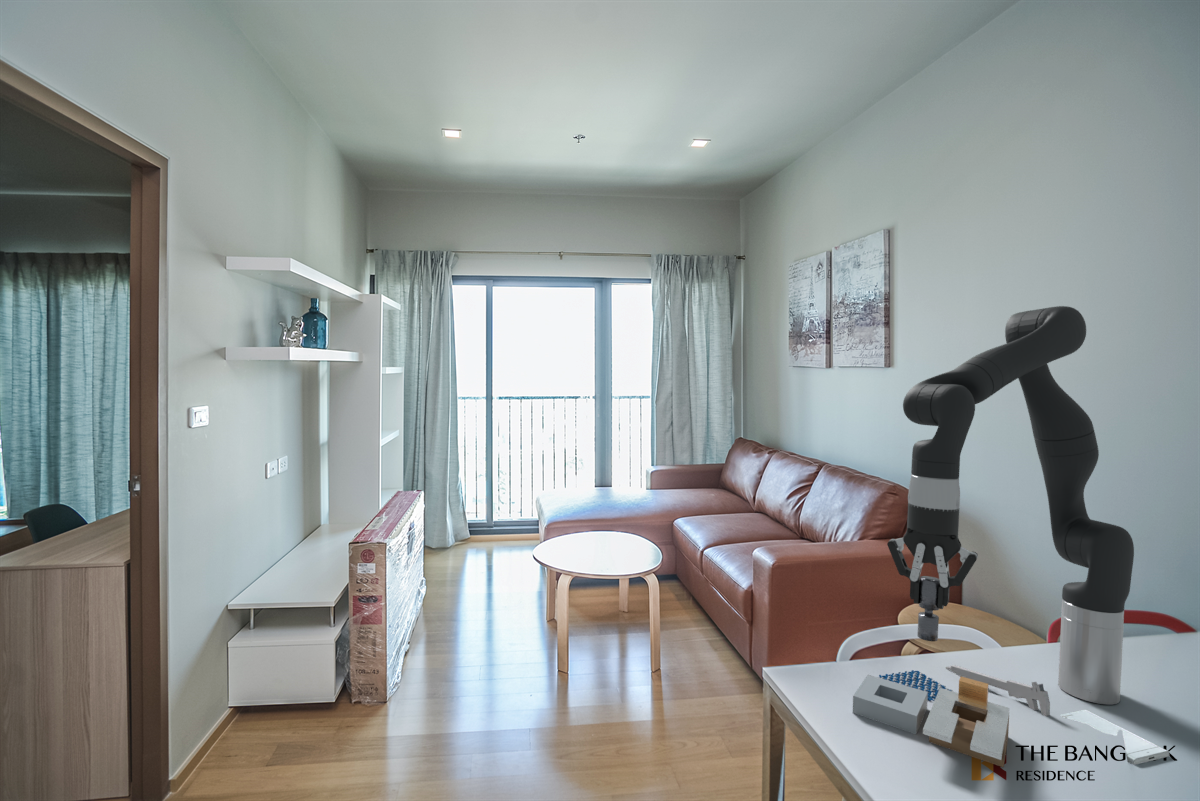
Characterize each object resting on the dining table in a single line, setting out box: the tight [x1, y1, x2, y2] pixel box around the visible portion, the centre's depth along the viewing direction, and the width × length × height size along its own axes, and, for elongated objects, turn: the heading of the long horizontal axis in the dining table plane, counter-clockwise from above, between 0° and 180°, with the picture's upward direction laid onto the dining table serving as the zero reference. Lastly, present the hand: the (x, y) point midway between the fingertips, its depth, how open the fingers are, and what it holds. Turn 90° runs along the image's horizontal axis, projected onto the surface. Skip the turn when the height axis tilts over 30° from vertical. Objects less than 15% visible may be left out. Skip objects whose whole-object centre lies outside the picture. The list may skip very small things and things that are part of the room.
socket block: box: [928, 705, 1010, 768], centre depth 97 cm, size 10×10×5 cm
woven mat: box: [878, 669, 954, 703], centre depth 114 cm, size 10×11×2 cm
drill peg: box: [917, 575, 940, 642], centre depth 101 cm, size 3×3×10 cm
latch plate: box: [922, 676, 1010, 760], centre depth 95 cm, size 16×10×4 cm, turn 142°
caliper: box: [945, 664, 1051, 717], centre depth 114 cm, size 20×1×6 cm, turn 18°
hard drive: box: [1060, 709, 1170, 766], centre depth 100 cm, size 2×8×12 cm
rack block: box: [852, 674, 929, 735], centre depth 105 cm, size 10×10×4 cm
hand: (928, 604), depth 101 cm, fingers closed on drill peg, 3 cm apart
